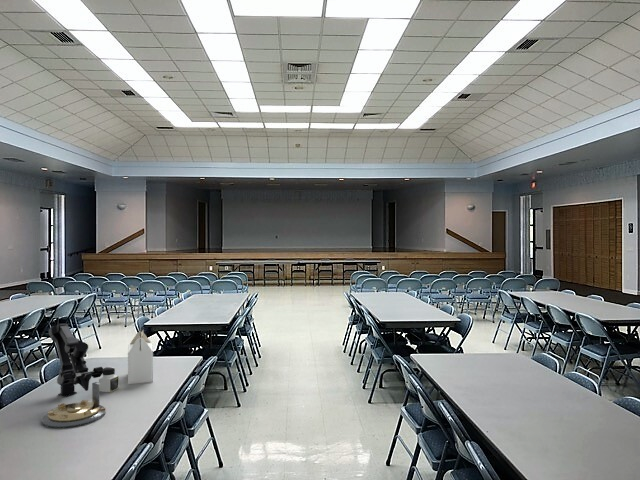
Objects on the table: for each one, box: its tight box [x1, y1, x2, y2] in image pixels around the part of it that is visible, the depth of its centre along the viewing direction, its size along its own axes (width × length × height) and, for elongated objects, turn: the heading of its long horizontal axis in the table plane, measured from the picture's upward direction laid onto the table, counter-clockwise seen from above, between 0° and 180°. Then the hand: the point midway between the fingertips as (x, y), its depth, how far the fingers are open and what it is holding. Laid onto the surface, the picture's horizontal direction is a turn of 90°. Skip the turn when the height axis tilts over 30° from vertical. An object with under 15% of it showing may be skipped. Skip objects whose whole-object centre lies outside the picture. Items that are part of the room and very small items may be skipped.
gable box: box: [127, 327, 154, 385], centre depth 283 cm, size 22×13×28 cm, turn 20°
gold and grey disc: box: [41, 404, 106, 429], centre depth 223 cm, size 26×26×2 cm
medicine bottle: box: [98, 366, 119, 393], centre depth 261 cm, size 7×7×12 cm
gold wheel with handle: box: [47, 381, 100, 422], centre depth 222 cm, size 21×21×12 cm
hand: (87, 390), depth 235 cm, fingers closed
